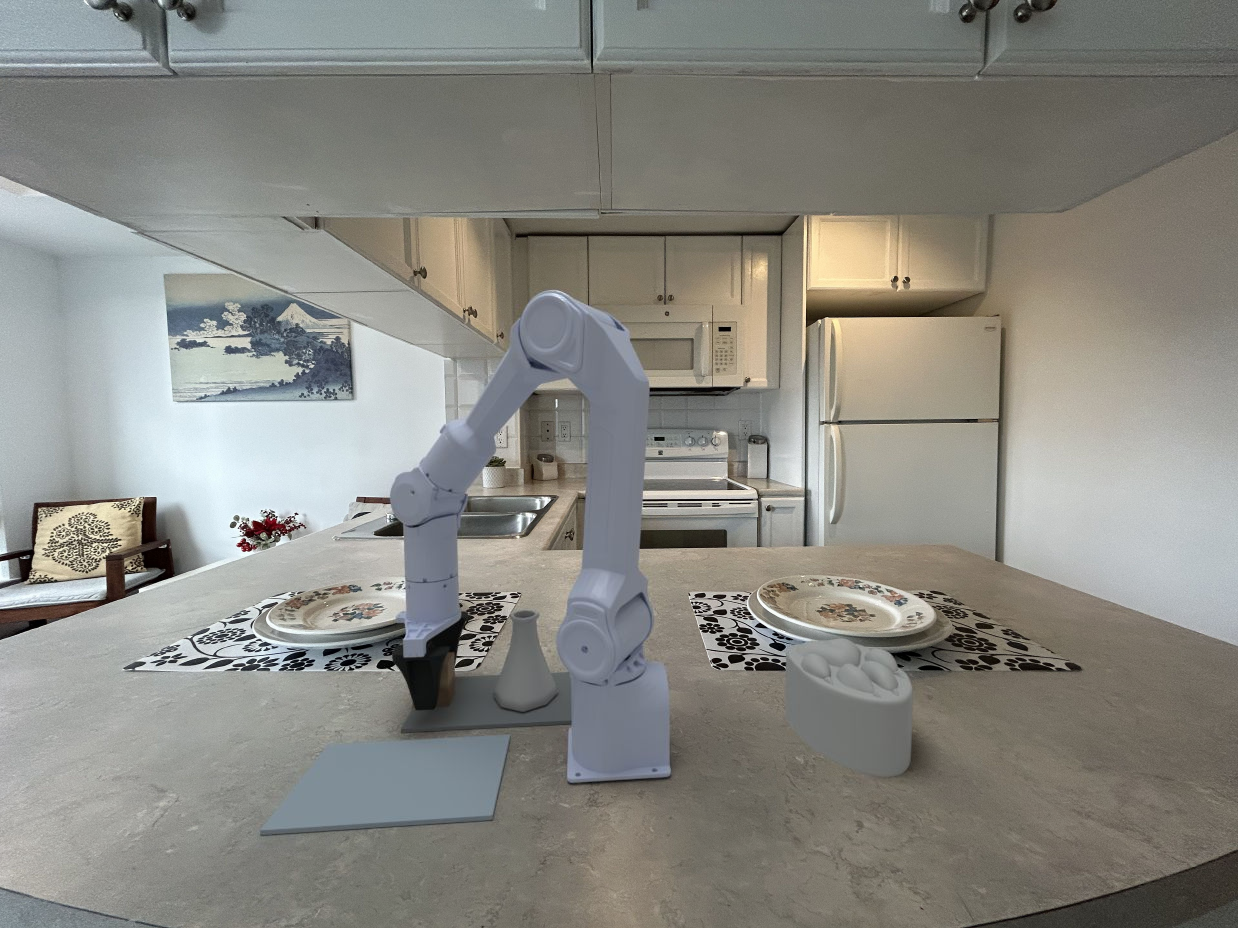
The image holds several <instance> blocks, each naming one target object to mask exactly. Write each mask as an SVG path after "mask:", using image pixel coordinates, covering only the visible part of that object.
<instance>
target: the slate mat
mask: <svg viewBox="0 0 1238 928" xmlns="http://www.w3.org/2000/svg"><path fill="white" fill-rule="evenodd" d="M510 740H511V734H496V735H495V734H494V735H476V736H473V735H472V736H458V737H436V738H420V739H402V740H396V739H395V740H382V741H379V740H378V741H377V740H376V741H363V742H362V741H361V742H360V741H359V742H344V743H340V742H339V743H328V744H327V745H326V746H325V748H324V749H323V750H322V752H320V754H319V755H318V756H317V758H316V759H315V760H314V762H313V763H312V764H311V765H310V767H309V768H308V769H307V771H306V772H305V773H304V774H303V775H302V777H301V778H300V779H299V781H297V783H296V784H295V785H294V787H293V788H292V789H291V791H289V793H288V795H287V796H286V797H285V798H284V799H283V801H282V802H281V804H280V805H279V806H278V807H277V809H276V810H275V811H274V812H273V814H272V815H271V816H270V817H269V818H268V820H267V821H266V823H265V824H263V826H262V828H261V829H260V831H259V832H260V833H259V834H260V836H267V835H283V834H284V835H285V834H298V833H299V834H300V833H311V832H312V833H314V832H330V831H345V830H347V831H348V830H360V829H362V830H363V829H374V828H375V829H377V828H389V827H392V828H393V827H403V826H408V827H409V826H422V825H435V824H452V823H453V824H454V823H465V822H466V823H467V822H480V821H481V822H483V821H492V820H493V819H494V815H495V809H496V804H497V802H498V796H499V791H500V786H501V783H502V779H503V777H502V776H503V774H504V773H503V772H504V768H505V764H506V759H507V755H508V750H509V745H510V742H511V741H510Z"/></svg>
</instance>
